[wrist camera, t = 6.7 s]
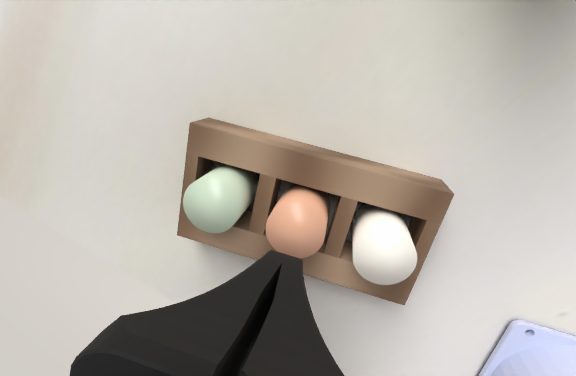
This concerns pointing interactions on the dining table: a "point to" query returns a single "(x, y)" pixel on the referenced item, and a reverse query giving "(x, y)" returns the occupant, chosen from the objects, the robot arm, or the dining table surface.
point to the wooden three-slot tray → (322, 176)
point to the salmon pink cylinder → (298, 221)
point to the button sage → (220, 198)
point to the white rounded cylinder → (382, 246)
